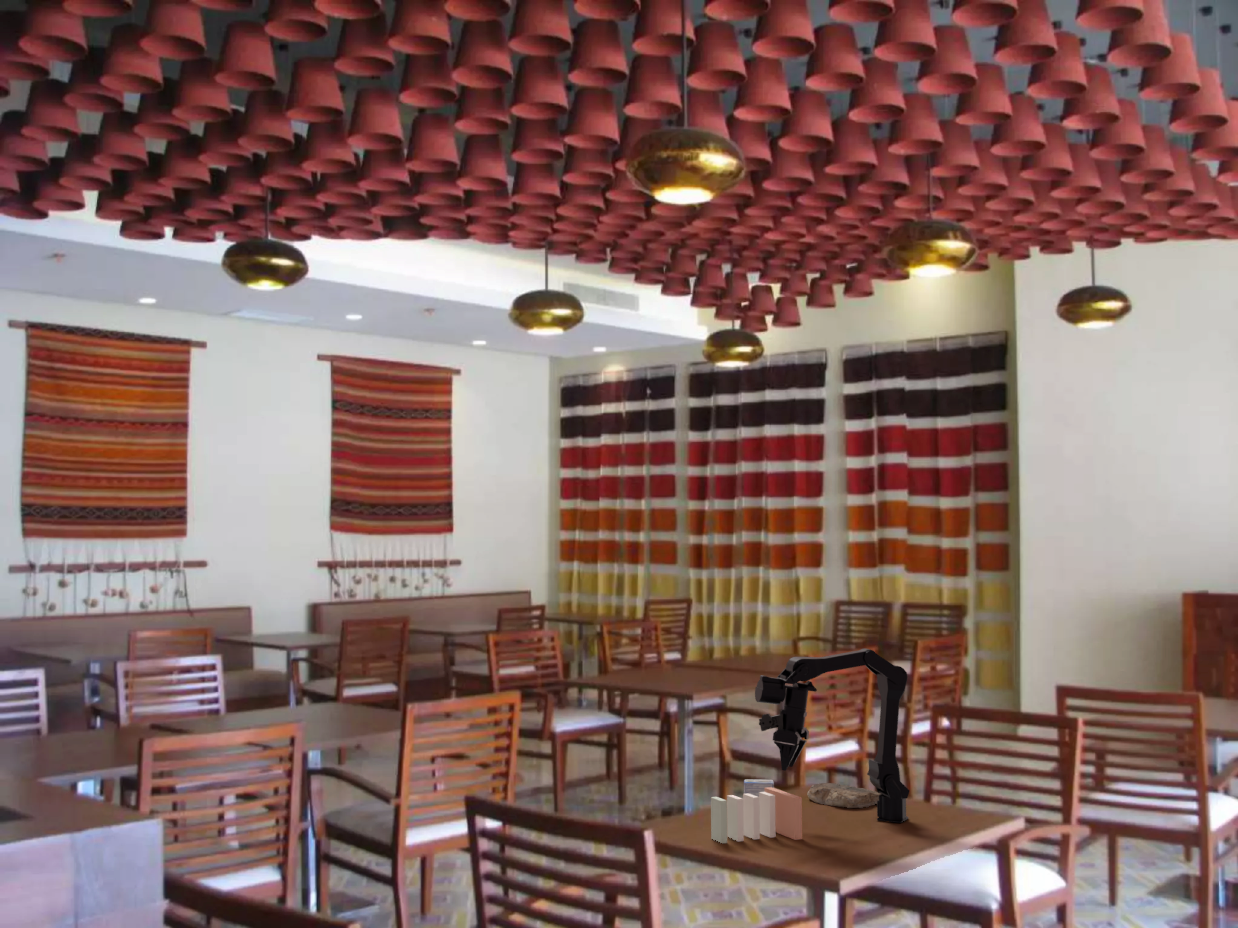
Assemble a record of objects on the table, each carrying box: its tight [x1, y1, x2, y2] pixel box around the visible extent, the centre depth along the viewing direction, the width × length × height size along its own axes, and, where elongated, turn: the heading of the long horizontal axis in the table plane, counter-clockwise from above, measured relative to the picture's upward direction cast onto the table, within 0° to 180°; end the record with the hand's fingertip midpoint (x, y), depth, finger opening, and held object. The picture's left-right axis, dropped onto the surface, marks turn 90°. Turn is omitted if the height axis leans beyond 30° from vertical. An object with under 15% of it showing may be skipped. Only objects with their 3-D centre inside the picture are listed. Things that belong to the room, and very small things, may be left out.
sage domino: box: [710, 796, 728, 844], centre depth 302 cm, size 2×5×10 cm, turn 24°
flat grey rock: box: [807, 782, 880, 809], centre depth 346 cm, size 14×5×20 cm
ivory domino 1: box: [726, 794, 745, 842], centre depth 303 cm, size 2×5×10 cm, turn 25°
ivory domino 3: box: [759, 792, 777, 838], centre depth 307 cm, size 2×5×10 cm, turn 24°
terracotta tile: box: [764, 787, 803, 841], centre depth 309 cm, size 2×14×10 cm, turn 24°
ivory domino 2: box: [742, 793, 761, 840], centre depth 305 cm, size 2×5×10 cm, turn 24°
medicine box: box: [743, 778, 775, 797], centre depth 331 cm, size 8×4×9 cm, turn 84°
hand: (787, 768), depth 318 cm, fingers open, 9 cm apart
